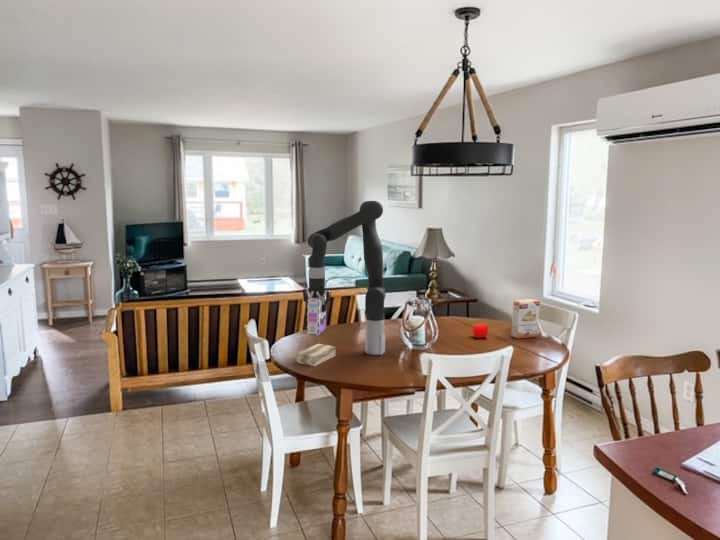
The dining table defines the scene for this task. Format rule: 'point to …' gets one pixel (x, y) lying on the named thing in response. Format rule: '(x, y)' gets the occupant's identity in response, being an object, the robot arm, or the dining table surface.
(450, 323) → the dining table surface
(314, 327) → the candy box
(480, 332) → the red piece
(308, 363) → the riser
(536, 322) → the cracker box
